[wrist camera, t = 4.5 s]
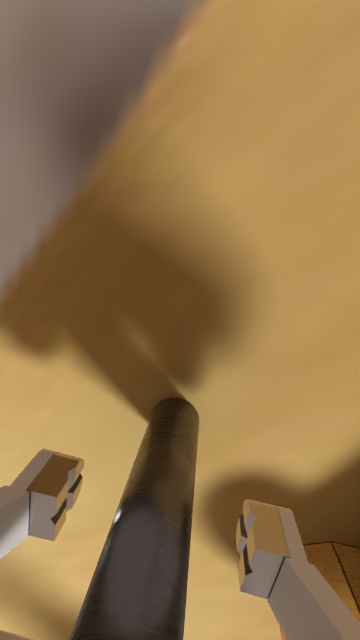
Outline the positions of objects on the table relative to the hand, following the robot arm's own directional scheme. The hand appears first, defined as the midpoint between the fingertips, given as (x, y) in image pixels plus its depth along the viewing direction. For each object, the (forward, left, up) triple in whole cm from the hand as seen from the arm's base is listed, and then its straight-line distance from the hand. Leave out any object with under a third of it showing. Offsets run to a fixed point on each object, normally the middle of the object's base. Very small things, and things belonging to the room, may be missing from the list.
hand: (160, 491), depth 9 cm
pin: (0, 0, -4) cm, 4 cm away
